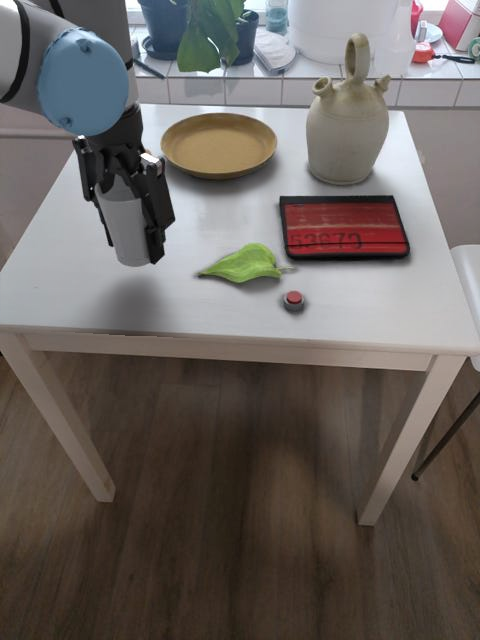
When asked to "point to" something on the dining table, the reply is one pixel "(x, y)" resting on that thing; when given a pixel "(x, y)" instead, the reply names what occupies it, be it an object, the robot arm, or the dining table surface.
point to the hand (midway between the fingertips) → (136, 250)
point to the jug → (347, 120)
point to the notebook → (342, 228)
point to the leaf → (247, 264)
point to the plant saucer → (218, 145)
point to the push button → (293, 300)
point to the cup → (125, 223)
